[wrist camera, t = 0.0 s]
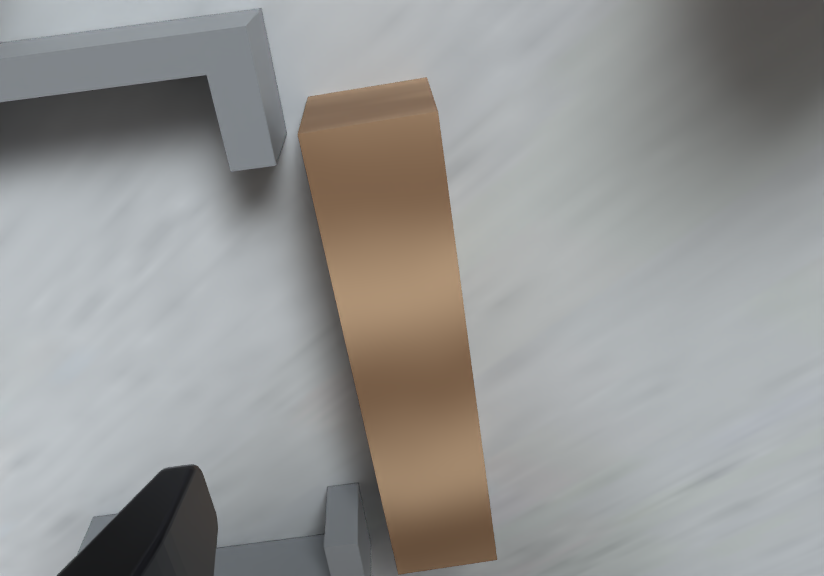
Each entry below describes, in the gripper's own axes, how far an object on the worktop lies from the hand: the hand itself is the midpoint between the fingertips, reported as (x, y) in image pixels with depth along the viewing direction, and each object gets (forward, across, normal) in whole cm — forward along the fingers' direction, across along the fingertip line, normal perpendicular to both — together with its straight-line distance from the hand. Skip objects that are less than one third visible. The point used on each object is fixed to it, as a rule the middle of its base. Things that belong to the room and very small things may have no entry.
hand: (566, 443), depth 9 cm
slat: (+15, +2, +7) cm, 17 cm away
